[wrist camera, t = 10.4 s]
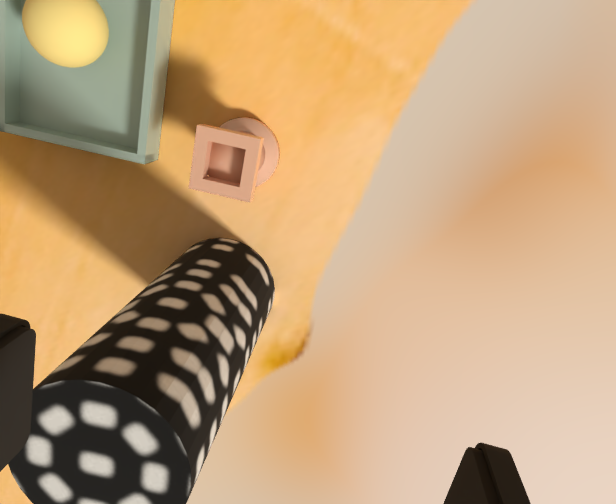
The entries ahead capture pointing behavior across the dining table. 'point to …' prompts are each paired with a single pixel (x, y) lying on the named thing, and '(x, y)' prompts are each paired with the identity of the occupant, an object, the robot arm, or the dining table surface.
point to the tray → (91, 84)
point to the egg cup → (233, 158)
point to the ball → (66, 30)
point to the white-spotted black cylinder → (149, 385)
